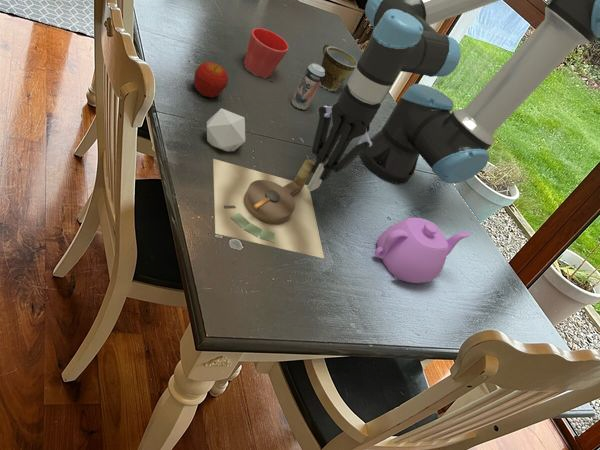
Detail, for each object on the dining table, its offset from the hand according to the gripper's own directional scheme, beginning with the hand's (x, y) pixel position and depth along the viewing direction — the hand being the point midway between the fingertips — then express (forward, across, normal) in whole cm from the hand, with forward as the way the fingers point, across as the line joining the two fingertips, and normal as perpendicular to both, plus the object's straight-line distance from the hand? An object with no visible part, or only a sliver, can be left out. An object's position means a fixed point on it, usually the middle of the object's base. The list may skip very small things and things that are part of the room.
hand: (312, 187), depth 121 cm
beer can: (+5, +27, -31) cm, 42 cm away
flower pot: (+5, +44, -31) cm, 54 cm away
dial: (+3, +2, +8) cm, 9 cm away
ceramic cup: (+5, +34, -52) cm, 62 cm away
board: (+4, +2, +11) cm, 12 cm away
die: (+4, +22, +5) cm, 23 cm away
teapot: (+6, -24, -9) cm, 26 cm away
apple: (+4, +38, -6) cm, 39 cm away
